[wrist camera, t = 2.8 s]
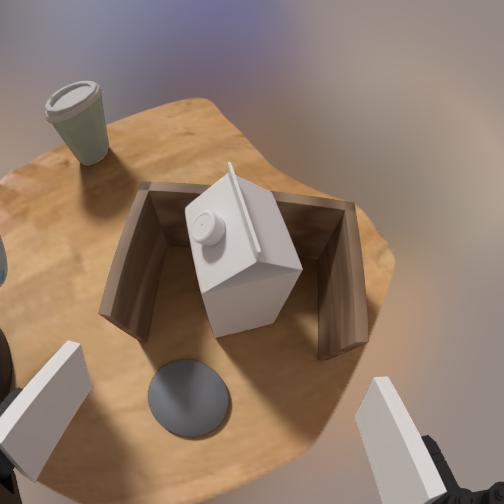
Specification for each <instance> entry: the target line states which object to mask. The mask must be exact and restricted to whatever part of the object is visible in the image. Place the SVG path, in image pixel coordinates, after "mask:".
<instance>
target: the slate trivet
mask: <svg viewBox="0 0 504 504" xmlns="http://www.w3.org/2000/svg"><path fill="white" fill-rule="evenodd" d="M148 402H149V406H150V409H151V412H152V414H153V416H154V417H155V419H156V420H157V421H158V422H159V423H160V424H161V425H162V426H163V427H164V428H166V429H167V430H168V431H170V432H172V433H175V434H177V435H181V436H187V437H195V436H201V435H204V434H207V433H209V432H211V431H212V430H214V429H215V428H216V427H217V426H218V425H219V424H220V423H221V422H222V420H223V419H224V417H225V415H226V412H227V409H228V402H229V398H228V392H227V388H226V386H225V384H224V382H223V380H222V379H221V377H220V376H219V375H218V374H217V373H216V372H215V371H214V370H213V369H212V368H210V367H209V366H207V365H205V364H203V363H201V362H198V361H193V360H178V361H174V362H171V363H169V364H167V365H165V366H163V367H162V368H161V369H160V370H158V372H157V373H156V374H155V375H154V377H153V378H152V380H151V382H150V385H149V390H148Z"/></svg>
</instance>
